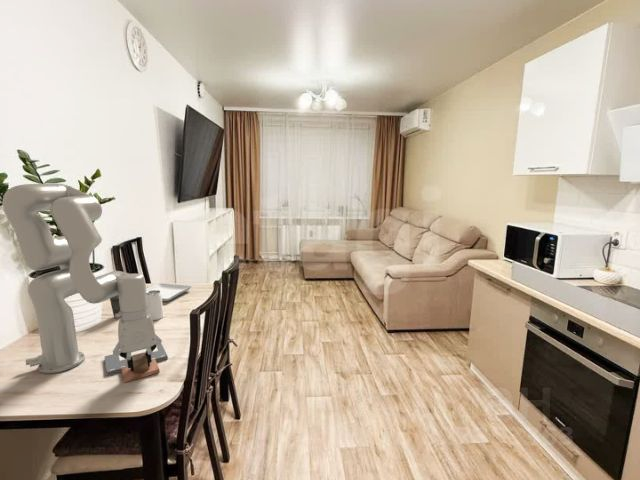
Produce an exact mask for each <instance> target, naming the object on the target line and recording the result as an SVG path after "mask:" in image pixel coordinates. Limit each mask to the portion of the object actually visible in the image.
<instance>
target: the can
mask: <svg viewBox="0 0 640 480" xmlns="http://www.w3.org/2000/svg"><path fill="white" fill-rule="evenodd" d="M146 296H147V306H148V313H149V314H150V315H151V317H152V320H153V321H158V320H161V319H163V318H164V308H163V307H164V306H163V301H162V295H161V293H160V291H159V290H153V291H149V292H147V293H146Z"/></svg>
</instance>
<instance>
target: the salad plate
mask: <svg viewBox="0 0 640 480" xmlns="http://www.w3.org/2000/svg"><path fill="white" fill-rule="evenodd" d="M191 288H192V285H184V284H174V283H163V282H162V283H156V284H155V285H151V286H150V287H147V288H146V293H147V292H149V291H153V290H159V291H160V293H161V295H162V302H169V301H171V300H173V299H175V298H176V297H179V296H180V295H182V294H184V293H186V292H188V291H189V290H190V289H191Z"/></svg>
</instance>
